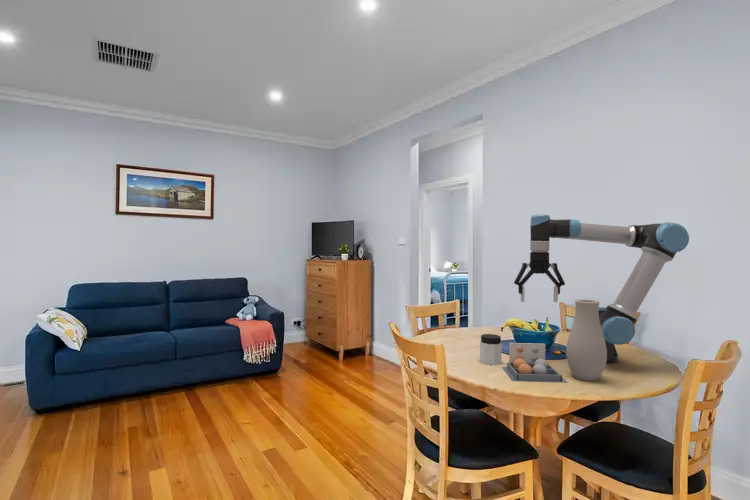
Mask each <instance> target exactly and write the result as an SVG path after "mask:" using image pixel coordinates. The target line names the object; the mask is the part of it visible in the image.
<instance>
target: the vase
mask: <svg viewBox="0 0 750 500" xmlns="http://www.w3.org/2000/svg"><path fill="white" fill-rule="evenodd" d="M574 305H575V311H574V312H575V313H574V317H573V323H572V326H571V329H570V331H569V335H568V338H567V341H566V346H565V348H566V349H565V355H566V361H567V365H568V367H569V370H570V372H571V374H572V375H573V377H575V378H576V379H579V380H581V381H587V382H588V381H589V382H591V381H592V382H593V381H594V382H595V381H598V380H599V379H600V378H601V376H602V375H603V373H604V370H605V368H606V366H607V363H606V361H607V348H606V343H605V339H604V336H603V332H602V329H601V325H600V321H599V307H600V301H598V300H594V299H585V298H584V299H575V300H574Z"/></svg>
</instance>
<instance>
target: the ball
mask: <svg viewBox="0 0 750 500" xmlns="http://www.w3.org/2000/svg"><path fill="white" fill-rule="evenodd" d="M518 373H519V374H532V369H531V367H530V366H529V365H528V364H521V365H520V366H519V367H518Z"/></svg>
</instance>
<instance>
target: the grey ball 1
mask: <svg viewBox="0 0 750 500" xmlns="http://www.w3.org/2000/svg"><path fill="white" fill-rule="evenodd" d="M536 364H542V365H544V366H545V368H546V369H547V368H548V364H549V363H548V362H547V361H546V359H545V360H543V359H537V360H536V361H535V363H534V365H536Z"/></svg>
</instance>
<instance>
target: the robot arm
mask: <svg viewBox="0 0 750 500" xmlns="http://www.w3.org/2000/svg"><path fill="white" fill-rule="evenodd" d="M529 227H530V242H529V243H530V245H529V246H530V247H529V249H530V251H531V252H529V263H526V262H522V263H521V269H520V270H519V272H518V274H517V276H516V278H515V280H514V281H513V284H514V285H517V286H518V294H519V295H520V302H522V303H525V286H524V285H525V283H526V282H527V281H528V280H529V279H530V278H531V277H532V275H534V274H542V275H543V274H545V275H546V276H547V277H548V278H549V280H550V281H552V283H553V284H554V286H553V302H555V303H558V301H559V300H558V298H559V295H560V293H561V287H562V286H565V285H566V283H565V281H564V279H563V277H562V274H561V273H560V270H559V268H558V264H557V263H556V262H553V263H550V252H549V251H550V238H552V239H569V240H579V241H586V242H587V241H588V242H590V241H591V242H598V243H599V242H600V243H611V244H620V245H621V244H623V245H625V246H626V247H629V248H630V247H631V248H637V249H640V250H641V251H642V253H641V255H640V257H639V259H638V260H637V262H636V265H635V266H634V267H633V269H632V271H631V273H630V274H629V276H628V278H627V279H626V281H625V283H624V285H623V287H622V288H621V291H620V292H619V294H618V295H617V297H616V298H615V301H614V302H613V303H612V304H608V305H607V306H606V307H603V306H599V321H600V325H601V329H602V332H603V336H604V339H605V343H606V348H607V361H606V364H613V363H617V362H618V361H619V354H618V351H617V349H616V346H617V345H618V346H619V345H621V346H622V345H626V344H627V343H630V342H631V341H632V340H633V338H634V337H635V334H636V328H635V325H636V323H637V320H638V318H637V312H638V310H639V309H640V307H641V305H642V303H643V302H644V300H645V298H646V296H647V295H648V293H649V292H650V290H651V288H652V286H653V285H654V283H655V281H656V280H657V278H658V276H659V275H660V273H661V271H662V269H663V267H664V266H665V264H666V263H668V262H672V261H673V259H674V257H675V256H676V255H677V253H679V252H681V251H684V250H685V249H686V248H687V246H688V245H689V242H690V235H689V232H688V231H687V229H686V227H684V226H683V225H681V224H680V223H676V222H669V221H668V222H667V221H666V222H663V223H650V224H640V225H639V224H636V225H635V224H630V225H628V226H622V225H621V226H620V225H619V226H618V225H609V224H608V225H607V224H595V223H594V224H593V223H584V222H581V221H580V220H578V219H572V218H570V219H551V216H550V215H549V214H534V215H531V217H530V225H529ZM528 267H529V271H528V272H527V273H526V274H525V275H524V273H525V272H526V270H527V269H528ZM550 268H551V269H552V271H553V272H554V274H555V276H556V277H555V276H554V275H553V274H552V272H550V270H549V269H550ZM523 275H524V277H523ZM522 277H523V278H522Z"/></svg>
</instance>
